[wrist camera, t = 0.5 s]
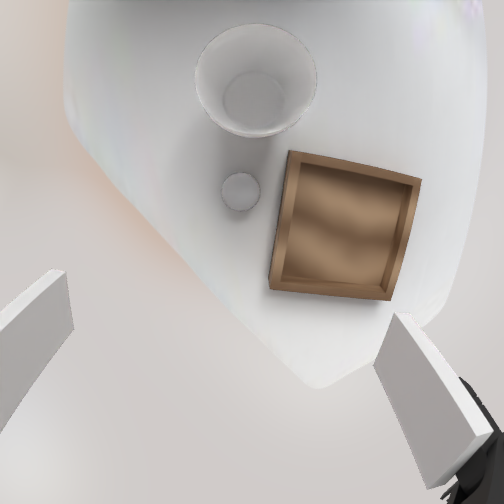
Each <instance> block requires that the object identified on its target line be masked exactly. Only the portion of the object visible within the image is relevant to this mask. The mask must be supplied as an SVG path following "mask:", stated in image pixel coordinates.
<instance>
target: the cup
mask: <svg viewBox="0 0 504 504" xmlns="http://www.w3.org/2000/svg"><path fill="white" fill-rule="evenodd" d="M316 86H317V73H316V68H315V64H314V61H313V59H312V57H311V55H310V53H309V52H308V50H307V49H306V47H305V46H304V45H303V44H302V43H301V42H300V41H299V40H298V39H297V38H296V37H294V36H293V35H292V34H290V33H288V32H286V31H285V30H282V29H280V28H277V27H274V26H270V25H265V24H246V25H240V26H236V27H233V28H231V29H228V30H226V31H224V32H223V33H221V34H219V35H218V36H217V37H215V38H214V39H213V40H212V41H211V42H210V43H209V44H208V45H207V46H206V47H205V49H204V50H203V52H202V53H201V55H200V57H199V60H198V62H197V66H196V70H195V87H196V92H197V95H198V98H199V100H200V102H201V104H202V106H203V107H204V109H205V111H206V113H207V114H208V115H209V117H210V118H211V119H212V120H213V121H214V122H215V123H216V124H217V125H219V126H220V127H221V128H223V129H225V130H226V131H228V132H230V133H233V134H236V135H239V136H243V137H249V138H262V137H268V136H272V135H275V134H278V133H280V132H283V131H284V130H286V129H288V128H289V127H291V126H292V125H293V124H295V123H296V122H297V121H298V120H299V119H300V117H301V116H302V115H303V114H304V113H305V111H306V110H307V109H308V107H309V106H310V104H311V102H312V100H313V98H314V95H315V91H316Z"/></svg>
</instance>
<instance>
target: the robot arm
mask: <svg viewBox="0 0 504 504" xmlns="http://www.w3.org/2000/svg"><path fill="white" fill-rule="evenodd" d="M73 330H74V325H73V319H72V313H71V307H70V300H69V293H68V286H67V277H66V271H61V270H56V269H50V270H49V271H48V272H46V273H45V274H44V275H43V276H41V277H40V278H39V279H38V280H37V281H35V282H34V283H33V284H32V285H30V286H29V287H28V288H27V289H26V290H24V291H23V292H22V293H21V294H20V295H19V296H17V297H16V298H15V299H14V300H13V301H11V302H10V303H9V304H8V305H7V306H6V307H5V308H3V309H2V310H1V311H0V433H1V431H2V430H3V428H4V427H5V425H6V424H7V422H8V420H9V419H10V417H11V416H12V414H13V413H14V411H15V410H16V408H17V407H18V405H19V404H20V402H21V401H22V399H23V398H24V396H25V395H26V393H27V392H28V390H29V389H30V387H31V386H32V385H33V383H34V382H35V381H36V379H37V378H38V376H39V375H40V374H41V372H42V371H43V369H44V368H45V367H46V365H47V364H48V362H49V361H50V360H51V358H52V357H53V356H54V355H55V353H56V352H57V351H58V349H59V348H60V347H61V345H62V344H63V343H64V341H65V340H66V339H67V337H68V336H69V335H70V334H71V332H72V331H73ZM373 366H374V368H375V370H376V373H377V375H378V377H379V379H380V381H381V383H382V385H383V388H384V390H385V392H386V394H387V396H388V398H389V401H390V403H391V405H392V407H393V409H394V412H395V414H396V416H397V418H398V421H399V423H400V425H401V428H402V430H403V432H404V435H405V437H406V439H407V442H408V444H409V446H410V449H411V451H412V453H413V456H414V458H415V461H416V463H417V466H418V468H419V471H420V473H421V476H422V478H423V481H424V483H425V486H426V488H427V490H428V489H431V488H435V487H438V486H441V485H445V484H446V483H447V482H448V481H449V480H450V479H451V478H452V477H453V476H454V475H455V474H456V477H457V479H458V481H457V482H456V483H455V484H454V485H453V486H452V487H450V488H449V489H448V490H447V491H446V492H445V493H444V494H443V495H442V497H441V498H440V499H442V500H443V499H444V498H445V497H446V496H447V495H449V494H450V493H451V494H450V497H449V499H447V502H448V503H447V504H504V432H503V433H502V432H501V430H500V429H499V427H498V426H497V424H496V423H495V421H494V419H493V418H492V417H491V415H490V413H489V412H488V410H487V409H486V408H485V406H484V405H482V402H481V400H480V399H479V397H477V394H476V393H475V392H474V390H473V389H472V387H471V386H470V385H469V384H468V383H467V382H466V381H464V380H463V379H462V378H461V377H457V375H456V374H455V372H454V371H453V370H452V368H451V367H450V365H449V364H448V363H447V361H446V360H445V359H444V357H443V356H442V355H441V354H440V352H439V351H438V349H437V348H436V347H435V345H434V344H433V343H432V341H431V340H430V339H429V337H428V336H427V335H426V333H425V332H424V331H423V330H422V328H421V327H420V326H419V324H418V323H417V322H416V321H415V319H414V318H413V317H412V316H411V314H410V313H398V312H394V315H393V317H392V320H391V323H390V325H389V328H388V331H387V333H386V336H385V338H384V341H383V343H382V346H381V348H380V350H379V353H378V355H377V358H376V360H375V362H374V365H373Z"/></svg>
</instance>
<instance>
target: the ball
mask: <svg viewBox="0 0 504 504" xmlns="http://www.w3.org/2000/svg"><path fill="white" fill-rule="evenodd" d="M221 195H222V199H223V201H224V202H225V204H226V205H227V206H228V207H229V208H231V209H233V210H236V211H245V210H248V209H250V208H252V207H253V206H254V205H255V204H256V203H257V202H258V200H259V197H260V187H259V184H258V182H257V181H256V179H255V178H254V177H253V176H251V175H249V174H247V173H235V174H232V175H230V176H229V177H228V178H227V179H226V180H225V181H224V183H223V185H222V189H221Z"/></svg>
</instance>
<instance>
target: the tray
mask: <svg viewBox="0 0 504 504" xmlns="http://www.w3.org/2000/svg"><path fill="white" fill-rule="evenodd" d="M421 181H422V179H420V178H416V177H413V176H409V175H405V174H401V173H397V172H393V171H389V170H385V169H381V168H377V167H373V166H368V165H364V164H360V163H355V162H350V161H346V160H341V159H336V158H331V157H326V156H320V155H315V154H309V153H304V152H298V151H292V150H289V152H288V159H287V166H286V172H285V179H284V185H283V191H282V198H281V204H280V210H279V217H278V223H277V229H276V235H275V241H274V247H273V253H272V259H271V265H270V271H269V277H268V280H269V287H270V289H273V290H282V291H291V292H300V293H310V294H319V295H329V296H340V297H350V298H361V299H372V300H384V301H391V298H392V295H393V292H394V288H395V285H396V282H397V279H398V275H399V272H400V269H401V265H402V262H403V258H404V255H405V251H406V247H407V243H408V239H409V236H410V232H411V227H412V223H413V219H414V215H415V210H416V206H417V201H418V196H419V191H420V186H421Z"/></svg>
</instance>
